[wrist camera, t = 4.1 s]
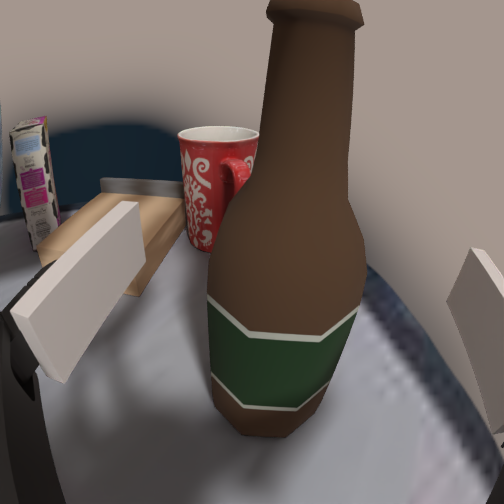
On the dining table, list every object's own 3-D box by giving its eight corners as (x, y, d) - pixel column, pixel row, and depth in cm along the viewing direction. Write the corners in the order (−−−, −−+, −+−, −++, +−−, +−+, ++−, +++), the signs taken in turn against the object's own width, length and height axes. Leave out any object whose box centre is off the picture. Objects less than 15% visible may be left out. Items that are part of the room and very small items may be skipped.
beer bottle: (242, 344, 26) (263, 12, 13) (330, 377, 23) (416, 29, 10) (191, 413, 20) (164, -20, 7) (293, 460, 17) (423, -25, 4)
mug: (176, 226, 42) (172, 127, 35) (239, 218, 45) (244, 124, 38) (195, 282, 33) (191, 153, 25) (276, 268, 36) (289, 148, 28)
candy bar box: (66, 243, 37) (44, 122, 28) (33, 253, 35) (6, 132, 26) (61, 212, 45) (47, 113, 36) (34, 219, 42) (17, 121, 34)
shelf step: (45, 275, 31) (31, 230, 28) (108, 214, 45) (103, 177, 41) (139, 296, 30) (129, 244, 27) (188, 222, 43) (186, 181, 40)
